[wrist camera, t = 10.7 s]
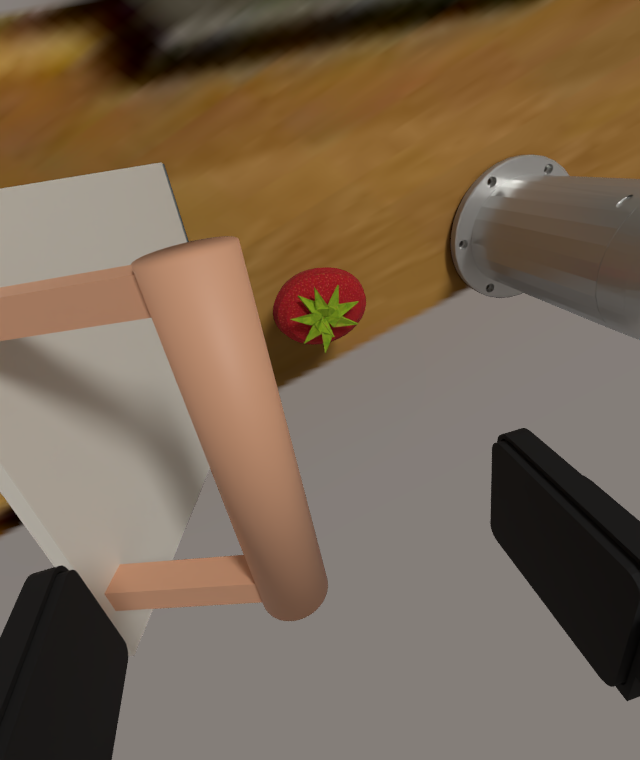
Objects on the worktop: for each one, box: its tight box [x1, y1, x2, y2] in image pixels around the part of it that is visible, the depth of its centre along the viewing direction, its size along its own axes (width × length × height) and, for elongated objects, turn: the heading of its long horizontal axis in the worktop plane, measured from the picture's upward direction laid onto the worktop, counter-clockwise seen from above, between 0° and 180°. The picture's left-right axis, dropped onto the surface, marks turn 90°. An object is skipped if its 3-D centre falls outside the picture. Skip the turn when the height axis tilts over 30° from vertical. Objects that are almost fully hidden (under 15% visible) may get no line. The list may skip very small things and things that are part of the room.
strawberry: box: [273, 268, 366, 353], centre depth 35 cm, size 6×8×10 cm
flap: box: [0, 163, 328, 656], centre depth 20 cm, size 18×16×8 cm
